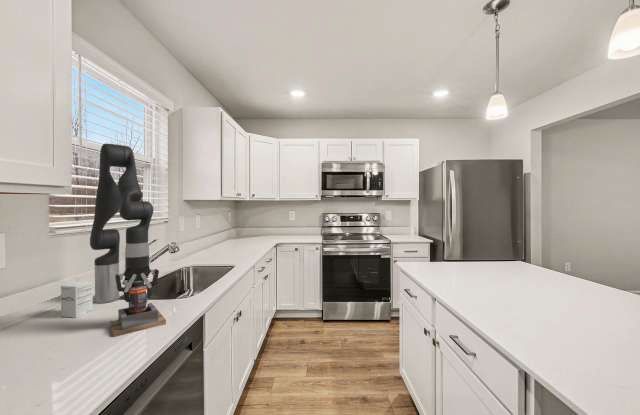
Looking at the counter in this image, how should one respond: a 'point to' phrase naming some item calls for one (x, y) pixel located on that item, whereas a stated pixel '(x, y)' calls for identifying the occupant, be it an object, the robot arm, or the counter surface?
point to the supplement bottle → (137, 297)
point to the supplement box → (76, 299)
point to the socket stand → (136, 320)
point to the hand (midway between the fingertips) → (137, 299)
